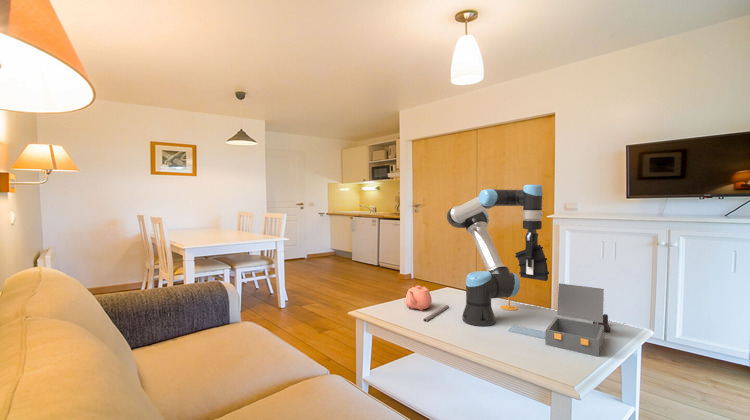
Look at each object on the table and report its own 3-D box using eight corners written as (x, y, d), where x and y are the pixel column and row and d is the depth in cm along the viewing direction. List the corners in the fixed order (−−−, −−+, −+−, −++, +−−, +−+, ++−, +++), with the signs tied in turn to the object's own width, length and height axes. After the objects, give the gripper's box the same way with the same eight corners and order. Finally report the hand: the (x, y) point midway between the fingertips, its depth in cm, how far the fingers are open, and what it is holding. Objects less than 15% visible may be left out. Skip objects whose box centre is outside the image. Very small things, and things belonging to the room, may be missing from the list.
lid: (558, 283, 155) (559, 283, 156) (557, 315, 153) (557, 314, 154) (603, 288, 145) (603, 288, 146) (602, 323, 143) (603, 322, 144)
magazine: (554, 278, 143) (538, 244, 146) (524, 287, 151) (510, 254, 155) (556, 277, 145) (541, 243, 149) (527, 285, 154) (513, 253, 158)
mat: (508, 331, 153) (508, 329, 153) (513, 326, 159) (513, 324, 159) (544, 339, 143) (544, 337, 143) (549, 333, 150) (549, 332, 150)
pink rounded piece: (398, 311, 182) (398, 288, 182) (414, 302, 199) (414, 281, 199) (421, 315, 175) (421, 291, 175) (436, 305, 192) (436, 284, 192)
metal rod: (448, 308, 188) (448, 305, 188) (426, 322, 165) (426, 318, 165) (445, 308, 189) (445, 304, 189) (423, 322, 166) (423, 317, 166)
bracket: (595, 331, 153) (595, 320, 153) (592, 323, 164) (592, 312, 164) (610, 333, 150) (611, 322, 150) (607, 325, 161) (607, 314, 161)
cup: (498, 305, 193) (498, 276, 192) (515, 305, 191) (515, 277, 191) (502, 310, 184) (502, 280, 183) (520, 310, 182) (520, 280, 182)
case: (545, 345, 137) (545, 306, 137) (557, 327, 157) (557, 293, 157) (598, 357, 126) (598, 315, 126) (605, 336, 146) (605, 300, 146)
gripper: (537, 221, 141) (535, 278, 141) (545, 219, 154) (544, 271, 155) (517, 220, 145) (516, 275, 146) (527, 218, 159) (526, 269, 160)
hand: (531, 273), depth 151 cm, fingers closed on magazine, 4 cm apart
